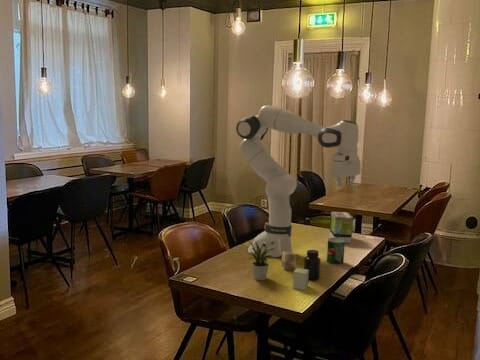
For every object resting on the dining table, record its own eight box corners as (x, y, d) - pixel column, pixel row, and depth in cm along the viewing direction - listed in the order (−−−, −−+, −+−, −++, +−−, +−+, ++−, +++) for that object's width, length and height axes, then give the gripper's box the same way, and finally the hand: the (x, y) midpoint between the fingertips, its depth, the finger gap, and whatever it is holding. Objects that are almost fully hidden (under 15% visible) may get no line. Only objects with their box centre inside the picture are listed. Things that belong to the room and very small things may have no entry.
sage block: (292, 288, 193) (293, 271, 192) (295, 284, 198) (296, 268, 197) (304, 290, 191) (305, 273, 190) (307, 286, 196) (308, 269, 195)
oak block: (284, 269, 215) (285, 254, 214) (281, 266, 220) (282, 251, 219) (295, 269, 216) (295, 254, 215) (292, 265, 221) (292, 251, 220)
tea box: (351, 243, 262) (353, 217, 259) (333, 243, 262) (335, 216, 260) (346, 236, 276) (348, 211, 274) (329, 236, 277) (330, 210, 275)
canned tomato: (346, 263, 228) (348, 240, 226) (337, 266, 222) (338, 243, 221) (332, 258, 233) (334, 237, 232) (323, 262, 228) (324, 239, 226)
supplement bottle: (308, 274, 210) (310, 247, 208) (322, 278, 206) (324, 251, 204) (300, 278, 205) (301, 251, 203) (314, 282, 201) (315, 254, 199)
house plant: (233, 278, 202) (234, 240, 200) (250, 269, 213) (252, 234, 211) (262, 286, 194) (264, 247, 192) (279, 276, 206) (280, 240, 203)
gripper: (352, 154, 229) (351, 183, 231) (329, 156, 214) (328, 187, 216) (364, 155, 225) (363, 184, 227) (341, 157, 210) (340, 188, 212)
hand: (345, 185), depth 221 cm, fingers open, 8 cm apart
